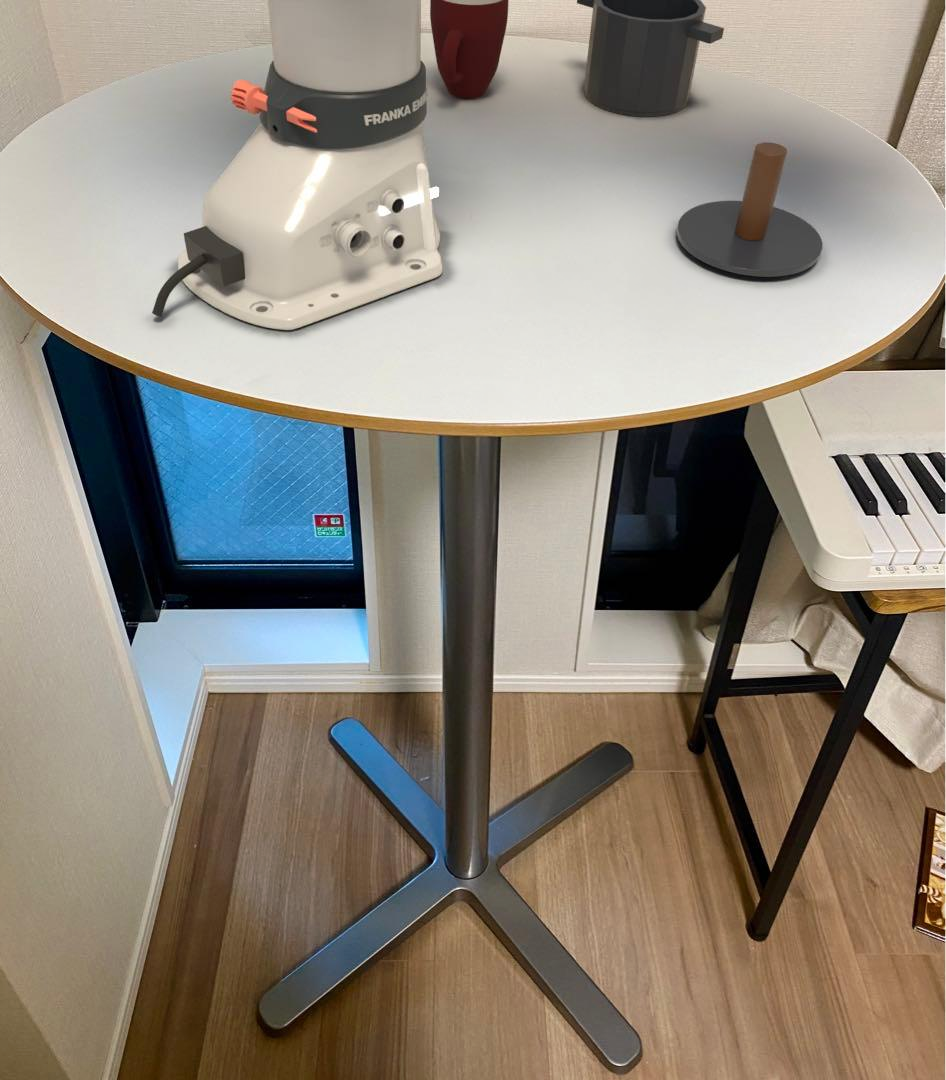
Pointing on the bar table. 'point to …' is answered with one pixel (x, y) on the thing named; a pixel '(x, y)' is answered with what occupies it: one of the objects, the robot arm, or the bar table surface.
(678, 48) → the dark grey pot
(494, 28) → the mug
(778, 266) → the pot lid
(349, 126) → the robot arm
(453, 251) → the bar table surface
